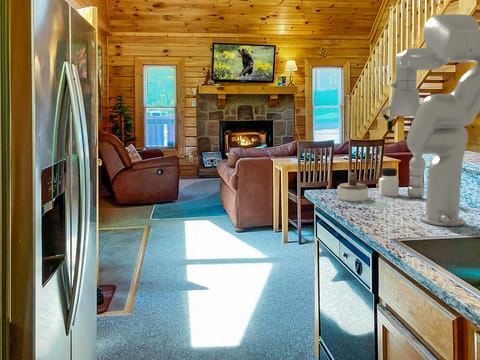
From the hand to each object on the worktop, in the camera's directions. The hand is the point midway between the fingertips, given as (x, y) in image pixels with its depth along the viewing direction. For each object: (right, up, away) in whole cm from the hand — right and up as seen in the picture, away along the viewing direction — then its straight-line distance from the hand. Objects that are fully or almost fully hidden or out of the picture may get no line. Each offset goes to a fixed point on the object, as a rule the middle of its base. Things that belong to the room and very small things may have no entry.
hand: (403, 131), depth 155 cm
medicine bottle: (+2, -26, +22) cm, 34 cm away
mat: (-10, -28, +1) cm, 30 cm away
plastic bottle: (+11, -27, +14) cm, 32 cm away
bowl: (-16, -27, +14) cm, 34 cm away
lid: (-16, -22, +13) cm, 30 cm away
